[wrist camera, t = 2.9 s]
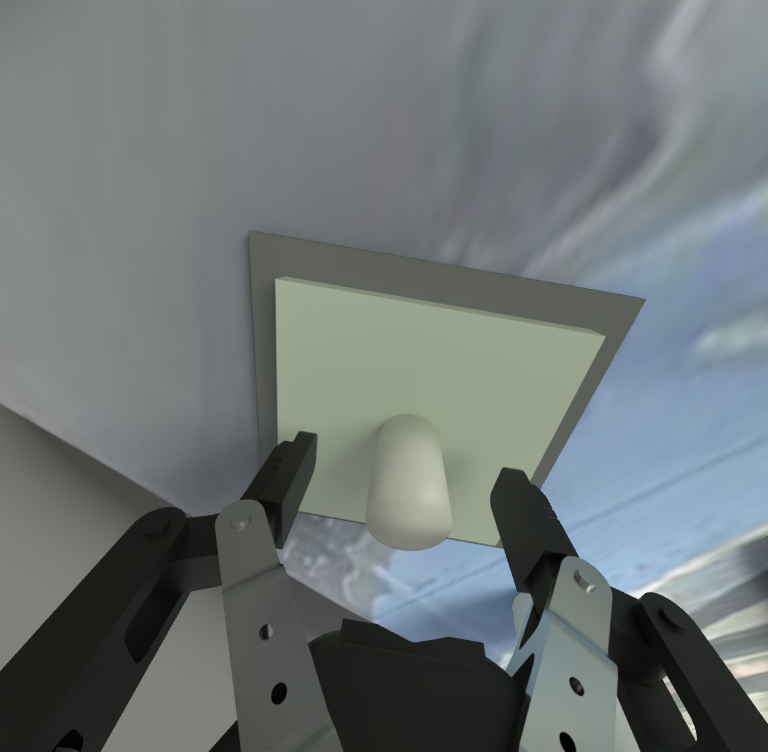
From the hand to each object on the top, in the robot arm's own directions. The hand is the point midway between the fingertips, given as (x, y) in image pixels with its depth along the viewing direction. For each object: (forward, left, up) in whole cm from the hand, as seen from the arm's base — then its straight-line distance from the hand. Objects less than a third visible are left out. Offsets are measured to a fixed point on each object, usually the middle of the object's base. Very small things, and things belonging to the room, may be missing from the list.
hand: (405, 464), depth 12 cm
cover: (0, 0, -3) cm, 3 cm away
